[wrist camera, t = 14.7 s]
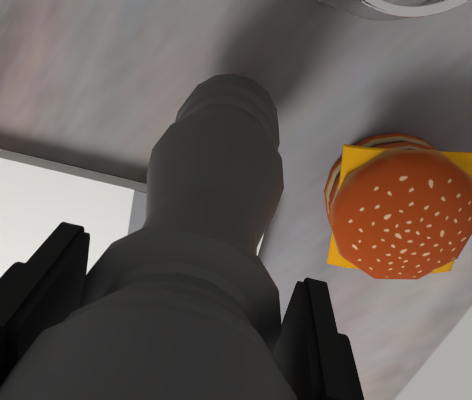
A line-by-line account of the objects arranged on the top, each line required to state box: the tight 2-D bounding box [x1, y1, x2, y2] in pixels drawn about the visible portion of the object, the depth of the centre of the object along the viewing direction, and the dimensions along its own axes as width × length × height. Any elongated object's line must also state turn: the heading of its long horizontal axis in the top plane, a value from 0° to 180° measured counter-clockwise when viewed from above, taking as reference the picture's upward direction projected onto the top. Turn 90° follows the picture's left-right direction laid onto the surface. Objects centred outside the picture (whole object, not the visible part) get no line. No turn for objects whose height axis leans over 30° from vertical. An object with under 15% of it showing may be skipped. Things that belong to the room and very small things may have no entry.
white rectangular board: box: [0, 149, 265, 277], centre depth 37 cm, size 20×26×2 cm
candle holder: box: [0, 74, 297, 400], centre depth 17 cm, size 6×6×25 cm
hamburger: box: [324, 133, 472, 279], centre depth 30 cm, size 9×10×7 cm
